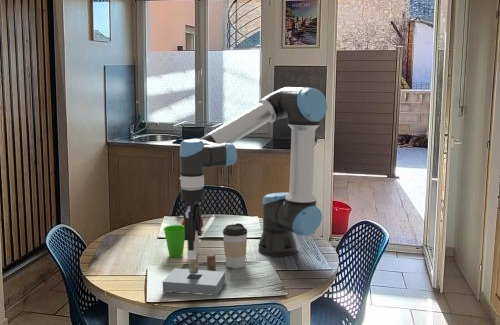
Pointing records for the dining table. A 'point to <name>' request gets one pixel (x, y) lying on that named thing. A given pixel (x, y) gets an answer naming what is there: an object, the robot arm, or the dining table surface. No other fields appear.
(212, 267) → the short pin
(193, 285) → the grey block with hole
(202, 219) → the tomato
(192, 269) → the long pin
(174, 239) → the cup
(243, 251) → the coffee cup
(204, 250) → the dining table surface
